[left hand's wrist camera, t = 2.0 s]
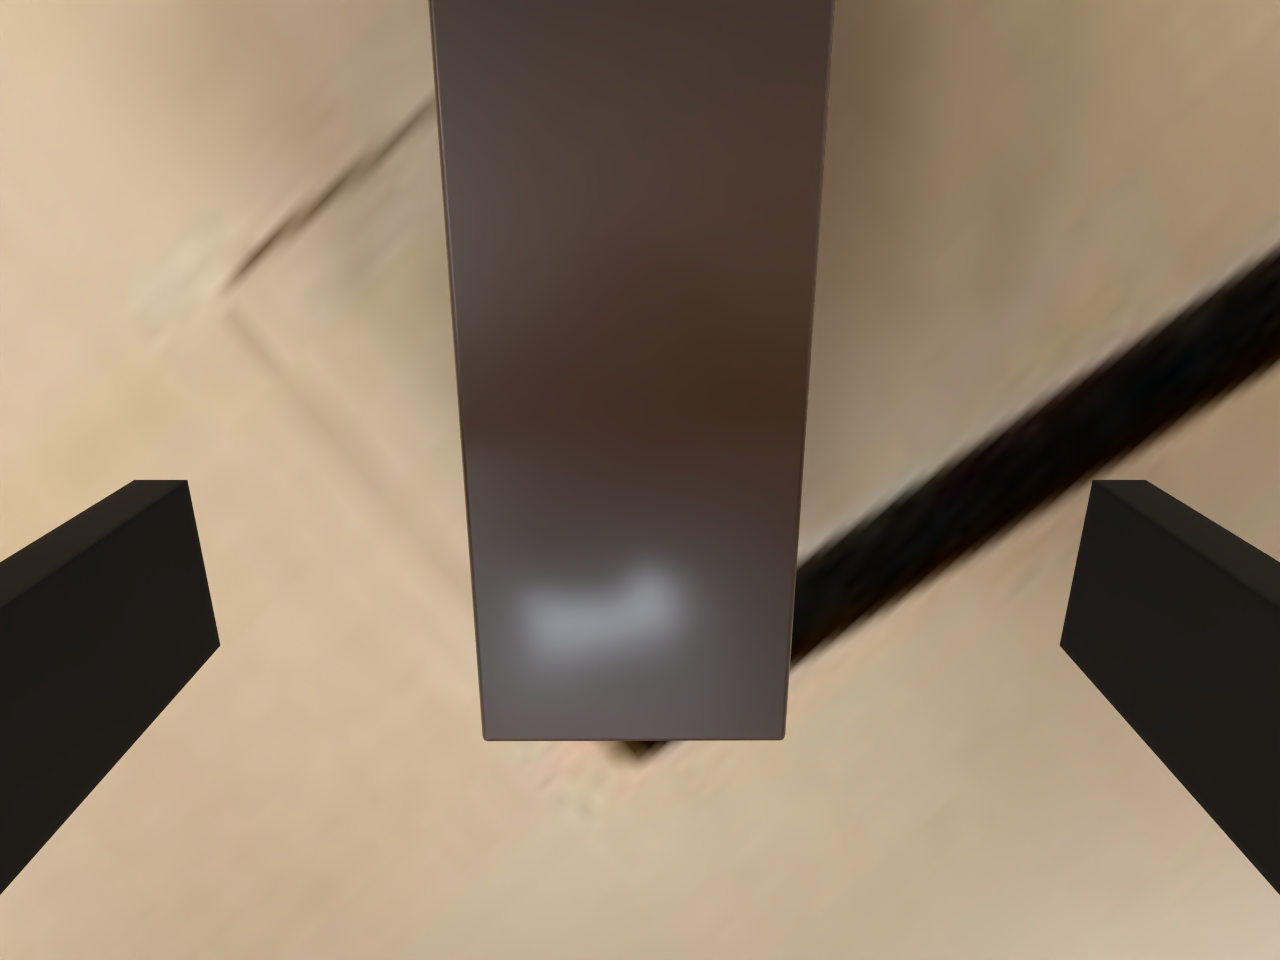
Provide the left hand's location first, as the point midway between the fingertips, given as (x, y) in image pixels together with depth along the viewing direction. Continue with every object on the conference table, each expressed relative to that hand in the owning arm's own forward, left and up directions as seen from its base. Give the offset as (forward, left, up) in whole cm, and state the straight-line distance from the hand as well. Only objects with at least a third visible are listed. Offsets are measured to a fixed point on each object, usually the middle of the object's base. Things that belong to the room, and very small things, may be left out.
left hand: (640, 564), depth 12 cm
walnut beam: (+8, 0, -8) cm, 11 cm away
